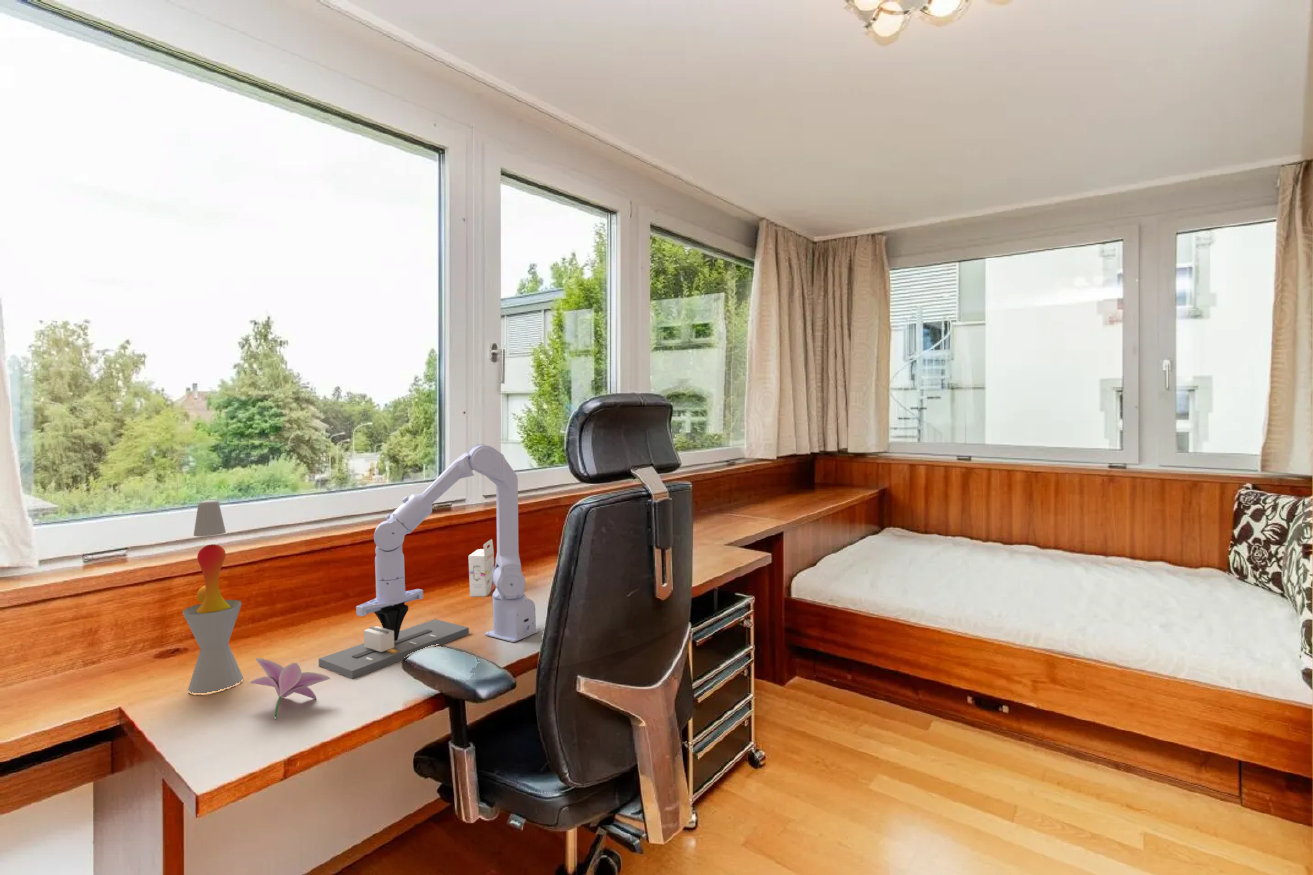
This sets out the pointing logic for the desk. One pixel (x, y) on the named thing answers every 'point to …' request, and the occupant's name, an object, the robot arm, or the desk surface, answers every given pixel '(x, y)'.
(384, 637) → the fader tab
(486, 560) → the ink cartridge box
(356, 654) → the board
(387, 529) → the robot arm
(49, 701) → the desk surface
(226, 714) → the desk surface
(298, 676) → the lily
